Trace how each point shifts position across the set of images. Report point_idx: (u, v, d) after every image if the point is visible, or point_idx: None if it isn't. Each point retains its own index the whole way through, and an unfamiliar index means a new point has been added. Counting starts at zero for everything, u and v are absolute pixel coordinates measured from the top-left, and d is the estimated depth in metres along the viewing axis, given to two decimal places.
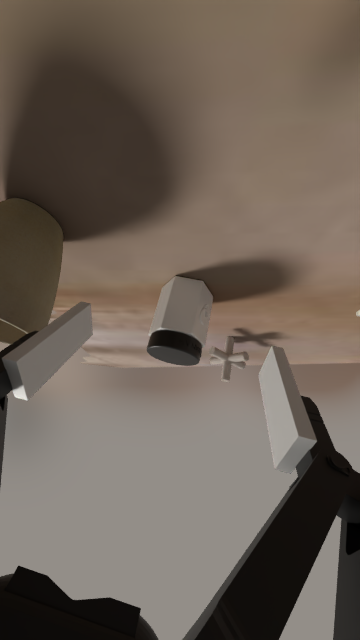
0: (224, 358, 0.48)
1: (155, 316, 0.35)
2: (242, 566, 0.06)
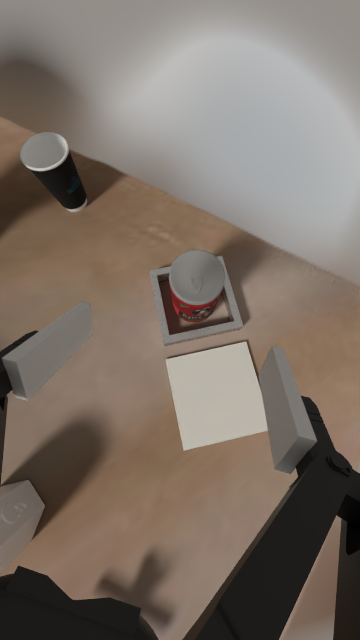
0: None
1: None
2: (242, 566, 0.06)
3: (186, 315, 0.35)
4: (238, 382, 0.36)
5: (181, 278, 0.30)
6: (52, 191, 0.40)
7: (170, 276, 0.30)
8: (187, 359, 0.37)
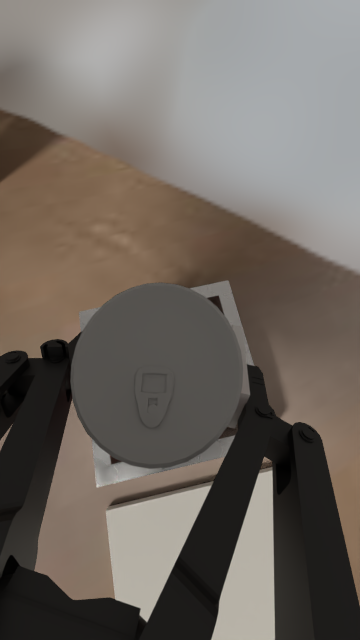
0: None
1: None
2: (195, 521, 0.06)
3: None
4: (267, 574, 0.16)
5: (109, 372, 0.10)
6: None
7: (74, 368, 0.10)
8: (153, 511, 0.17)
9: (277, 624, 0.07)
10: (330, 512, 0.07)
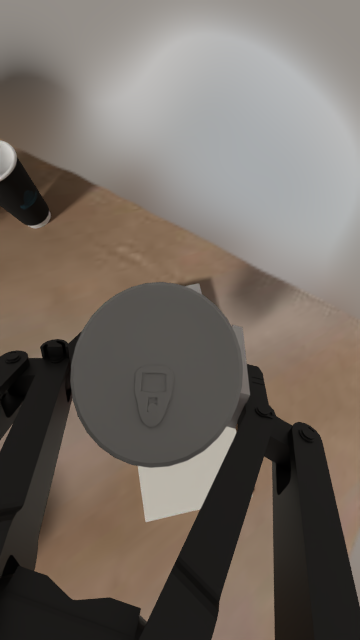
0: None
1: None
2: (195, 521, 0.06)
3: None
4: None
5: (109, 371, 0.10)
6: (3, 207, 0.35)
7: (74, 367, 0.10)
8: None
9: (277, 623, 0.07)
10: (331, 512, 0.07)
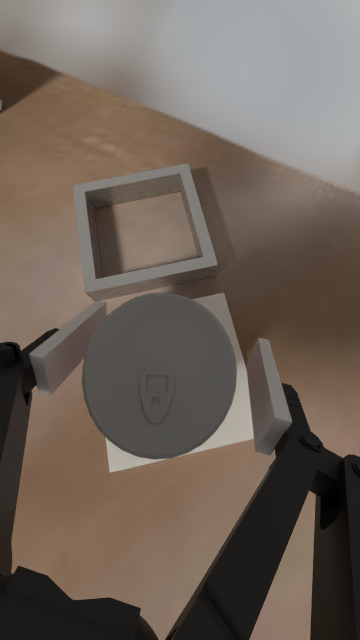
0: None
1: None
2: (225, 547, 0.06)
3: None
4: None
5: (116, 374, 0.11)
6: None
7: (85, 370, 0.11)
8: None
9: None
10: None
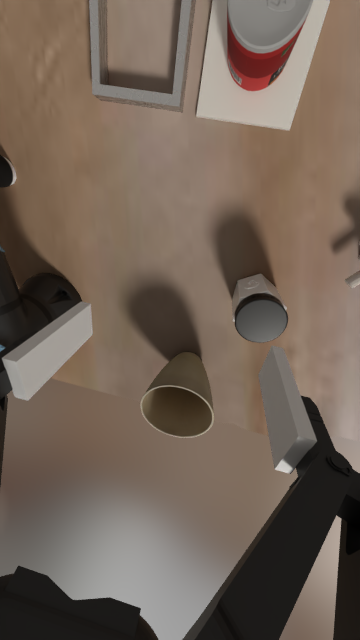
0: None
1: None
2: (242, 566, 0.06)
3: (283, 64, 0.27)
4: None
5: (261, 26, 0.22)
6: None
7: (252, 44, 0.22)
8: (206, 83, 0.32)
9: None
10: None
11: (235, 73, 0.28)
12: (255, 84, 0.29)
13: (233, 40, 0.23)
